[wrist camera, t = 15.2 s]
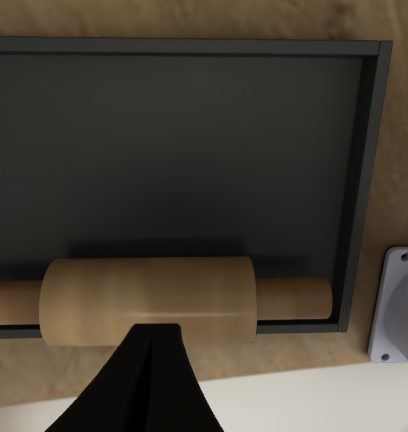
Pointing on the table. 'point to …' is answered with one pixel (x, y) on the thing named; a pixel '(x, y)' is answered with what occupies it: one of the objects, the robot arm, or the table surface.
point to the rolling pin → (158, 299)
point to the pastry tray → (190, 155)
